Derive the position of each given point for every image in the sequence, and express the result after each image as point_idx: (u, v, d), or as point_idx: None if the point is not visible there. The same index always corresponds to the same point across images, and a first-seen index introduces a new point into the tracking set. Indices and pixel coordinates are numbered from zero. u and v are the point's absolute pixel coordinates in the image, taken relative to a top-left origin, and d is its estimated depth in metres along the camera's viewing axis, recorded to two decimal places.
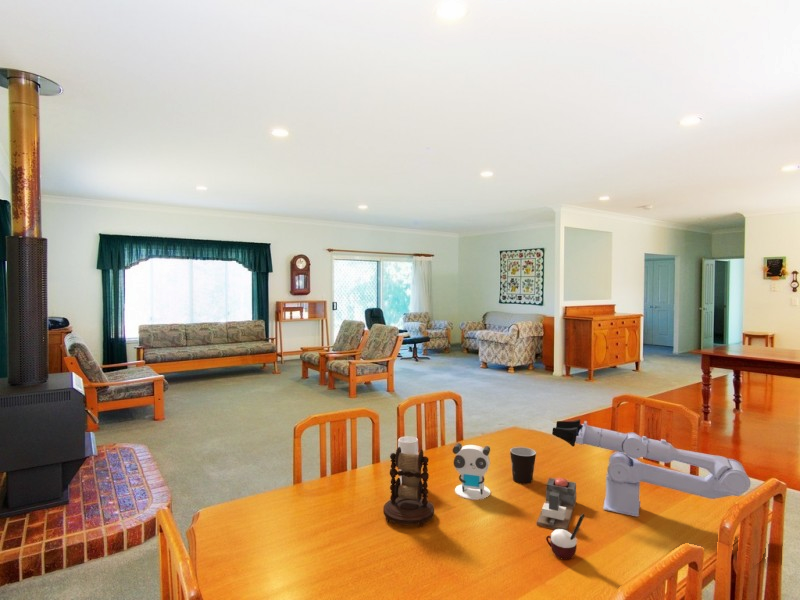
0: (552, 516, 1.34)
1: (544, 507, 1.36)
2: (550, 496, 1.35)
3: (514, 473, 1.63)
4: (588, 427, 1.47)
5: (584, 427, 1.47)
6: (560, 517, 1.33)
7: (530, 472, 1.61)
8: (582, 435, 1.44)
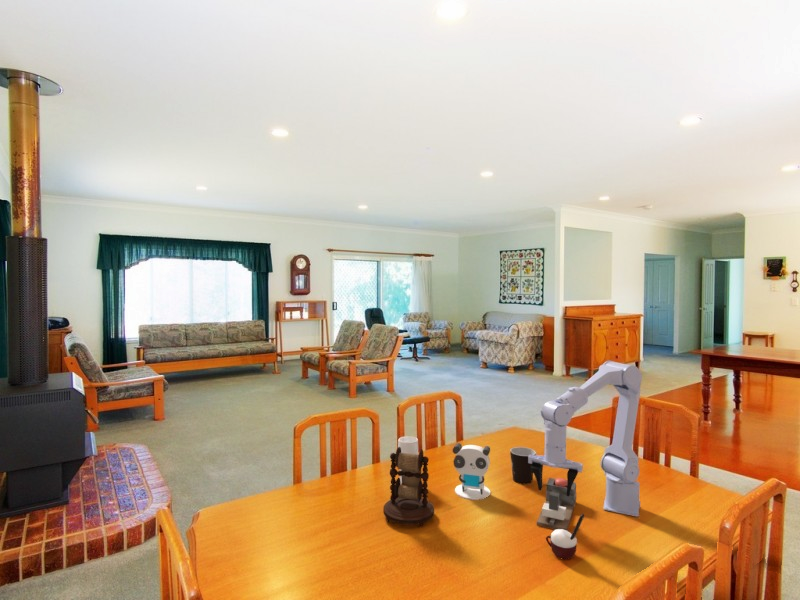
0: (552, 516, 1.34)
1: (544, 507, 1.36)
2: (550, 496, 1.35)
3: (514, 473, 1.63)
4: (556, 461, 1.33)
5: (559, 465, 1.32)
6: (560, 517, 1.33)
7: (530, 472, 1.61)
8: (575, 466, 1.32)
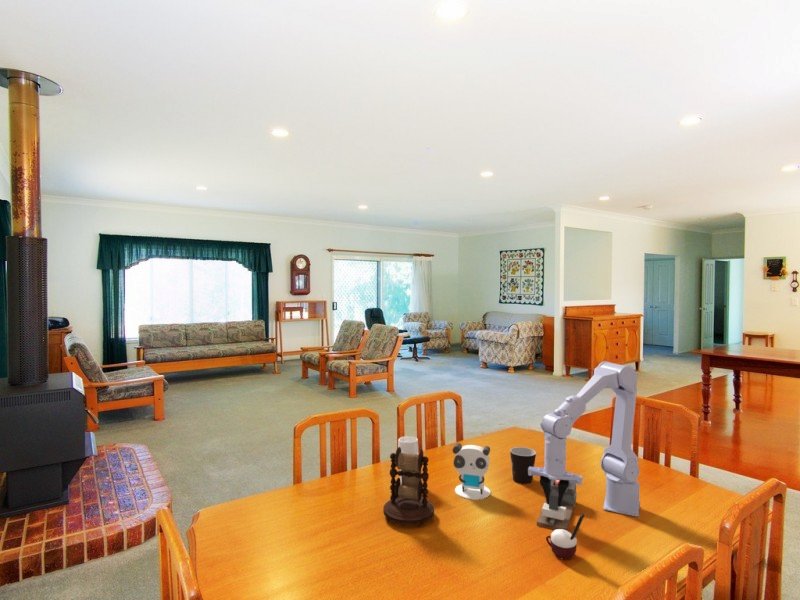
0: (552, 516, 1.34)
1: (544, 507, 1.36)
2: (550, 496, 1.35)
3: (514, 473, 1.63)
4: (556, 473, 1.33)
5: (559, 478, 1.32)
6: (560, 517, 1.33)
7: None
8: (574, 478, 1.32)
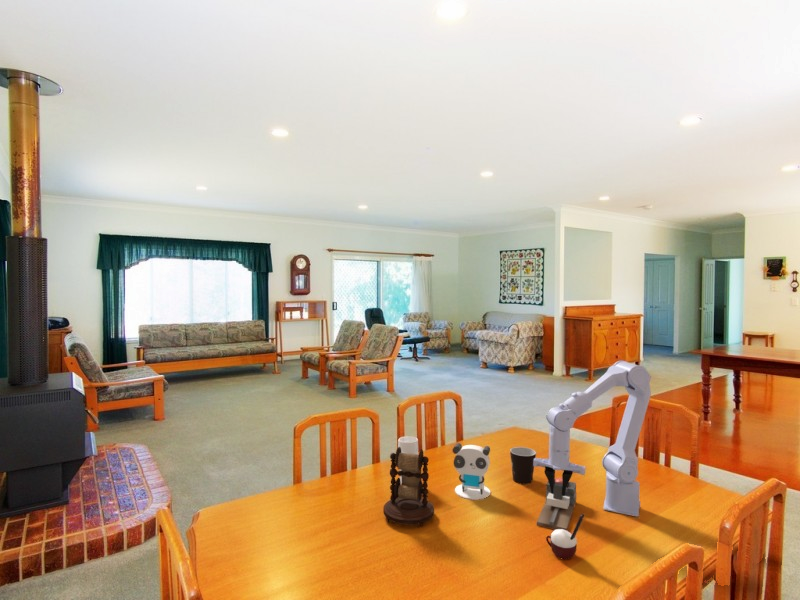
0: (556, 505, 1.41)
1: (549, 497, 1.43)
2: (554, 486, 1.42)
3: (514, 473, 1.63)
4: (560, 464, 1.39)
5: (563, 468, 1.39)
6: (564, 506, 1.40)
7: (530, 472, 1.61)
8: (578, 468, 1.39)
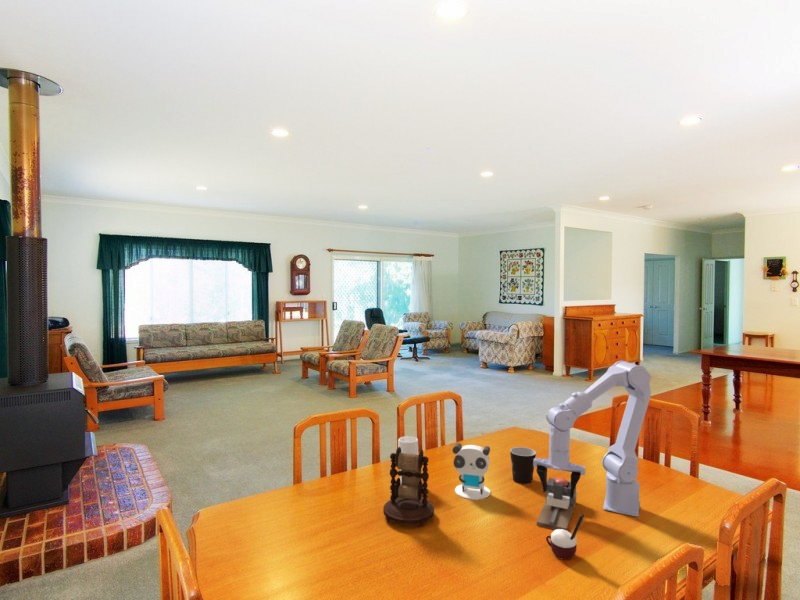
0: (556, 505, 1.41)
1: (549, 497, 1.43)
2: (554, 486, 1.42)
3: (514, 473, 1.63)
4: (560, 464, 1.39)
5: (563, 468, 1.39)
6: (564, 506, 1.40)
7: (530, 472, 1.61)
8: (578, 468, 1.39)
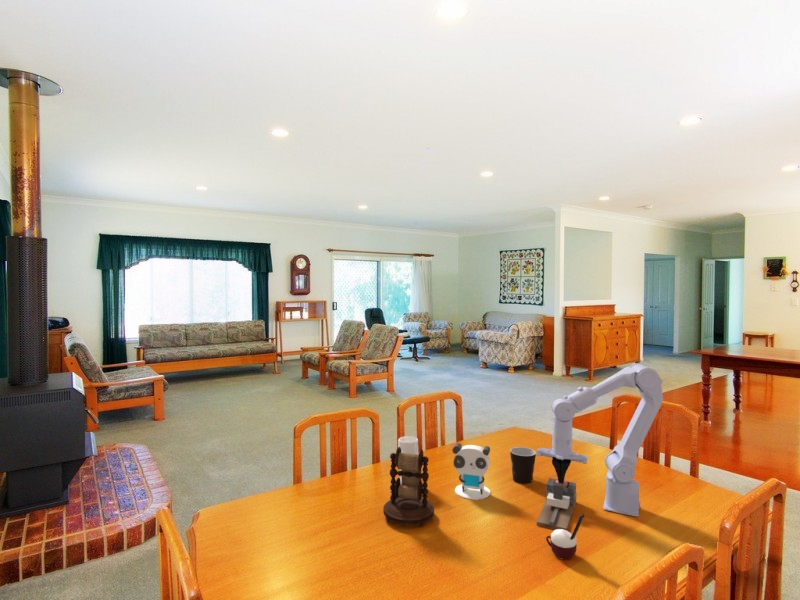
0: (556, 505, 1.41)
1: (549, 497, 1.43)
2: (554, 486, 1.42)
3: (514, 473, 1.63)
4: (563, 453, 1.44)
5: (566, 457, 1.44)
6: (564, 506, 1.40)
7: (530, 472, 1.61)
8: (580, 458, 1.44)
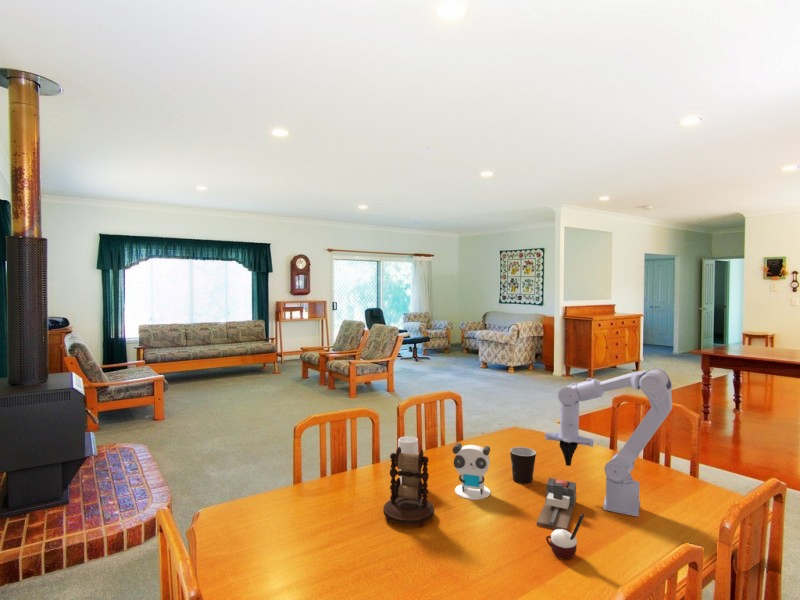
0: (556, 505, 1.41)
1: (549, 497, 1.43)
2: (554, 486, 1.42)
3: (514, 473, 1.63)
4: (570, 437, 1.51)
5: (573, 440, 1.50)
6: (564, 506, 1.40)
7: (530, 472, 1.61)
8: (586, 441, 1.50)
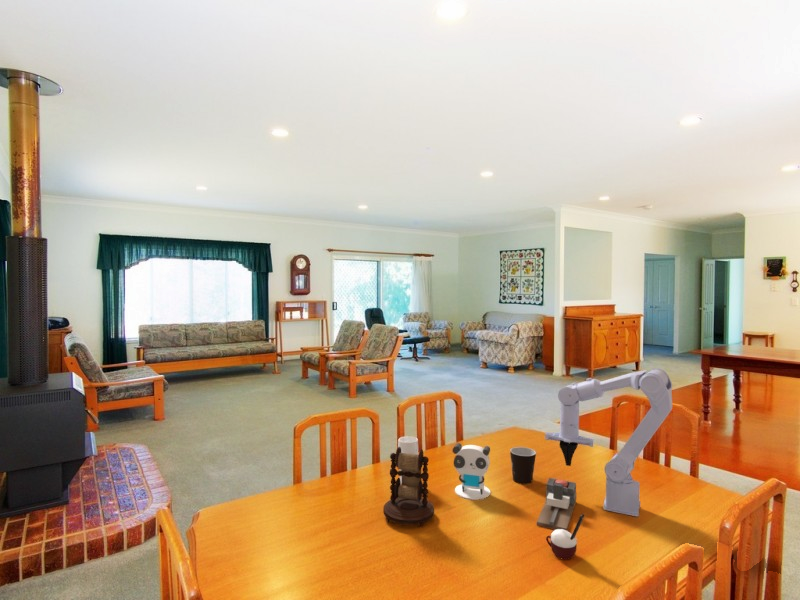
0: (556, 505, 1.41)
1: (549, 497, 1.43)
2: (554, 486, 1.42)
3: (514, 473, 1.63)
4: (570, 437, 1.51)
5: (573, 440, 1.50)
6: (564, 506, 1.40)
7: (530, 472, 1.61)
8: (586, 441, 1.50)
